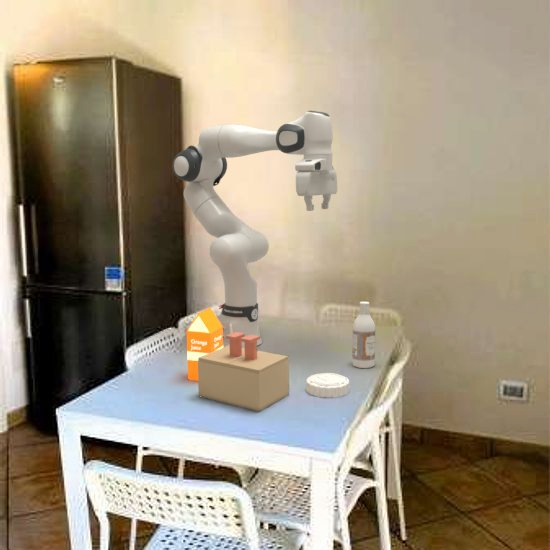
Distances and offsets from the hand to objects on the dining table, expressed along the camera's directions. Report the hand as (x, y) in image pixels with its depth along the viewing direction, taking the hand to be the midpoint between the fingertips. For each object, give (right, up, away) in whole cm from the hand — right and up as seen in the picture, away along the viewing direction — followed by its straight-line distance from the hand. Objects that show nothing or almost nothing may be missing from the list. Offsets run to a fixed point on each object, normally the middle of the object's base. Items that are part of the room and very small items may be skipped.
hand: (317, 209), depth 191 cm
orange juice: (-34, -51, -9) cm, 61 cm away
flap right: (-18, -43, -30) cm, 56 cm away
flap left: (-26, -43, -25) cm, 56 cm away
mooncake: (+1, -53, -21) cm, 57 cm away
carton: (-22, -53, -25) cm, 63 cm away
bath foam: (+14, -49, 0) cm, 51 cm away
